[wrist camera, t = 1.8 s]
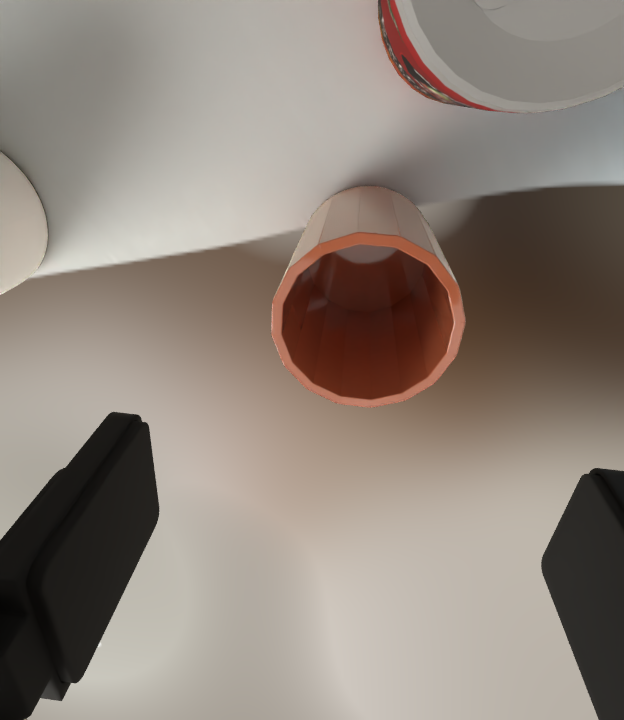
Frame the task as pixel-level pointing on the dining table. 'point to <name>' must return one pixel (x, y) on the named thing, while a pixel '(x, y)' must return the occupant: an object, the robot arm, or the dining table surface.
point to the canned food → (506, 51)
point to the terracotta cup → (367, 301)
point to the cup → (19, 227)
